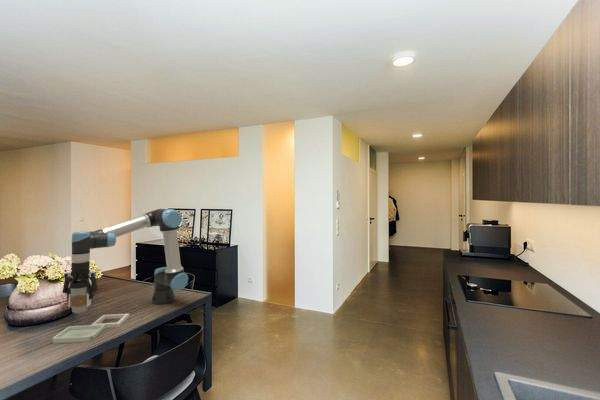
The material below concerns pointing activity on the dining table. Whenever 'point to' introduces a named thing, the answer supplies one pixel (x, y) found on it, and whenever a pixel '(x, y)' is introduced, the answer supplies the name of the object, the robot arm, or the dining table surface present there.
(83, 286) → the coffee cup
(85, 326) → the tray
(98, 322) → the frame
